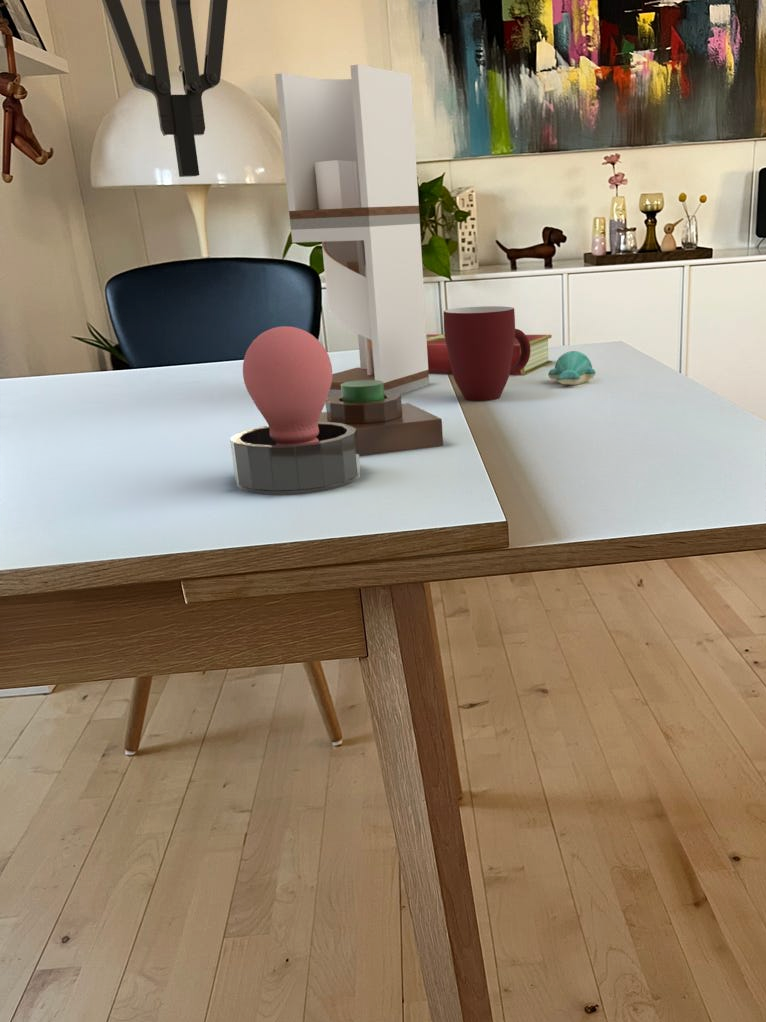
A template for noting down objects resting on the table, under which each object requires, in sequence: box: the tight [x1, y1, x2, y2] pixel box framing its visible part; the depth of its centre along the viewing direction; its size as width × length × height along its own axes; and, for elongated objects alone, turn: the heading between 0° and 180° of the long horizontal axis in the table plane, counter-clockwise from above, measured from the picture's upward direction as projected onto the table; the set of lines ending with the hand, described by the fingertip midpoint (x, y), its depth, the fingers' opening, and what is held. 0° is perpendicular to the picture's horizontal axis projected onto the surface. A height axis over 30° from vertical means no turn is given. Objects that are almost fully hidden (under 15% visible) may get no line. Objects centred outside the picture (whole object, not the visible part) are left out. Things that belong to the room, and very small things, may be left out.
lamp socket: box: [229, 422, 361, 496], centre depth 87 cm, size 10×10×4 cm
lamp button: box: [341, 380, 385, 402], centre depth 98 cm, size 4×4×2 cm
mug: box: [443, 305, 530, 402], centre depth 120 cm, size 10×8×10 cm
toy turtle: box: [547, 350, 597, 386], centre depth 128 cm, size 6×7×4 cm
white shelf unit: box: [274, 64, 430, 399], centre depth 123 cm, size 11×11×35 cm
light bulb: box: [242, 325, 333, 445], centre depth 85 cm, size 7×7×12 cm
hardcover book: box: [426, 333, 553, 376], centre depth 144 cm, size 12×21×4 cm, turn 68°
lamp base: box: [318, 392, 444, 457], centre depth 99 cm, size 12×10×4 cm
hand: (189, 175), depth 95 cm, fingers closed
